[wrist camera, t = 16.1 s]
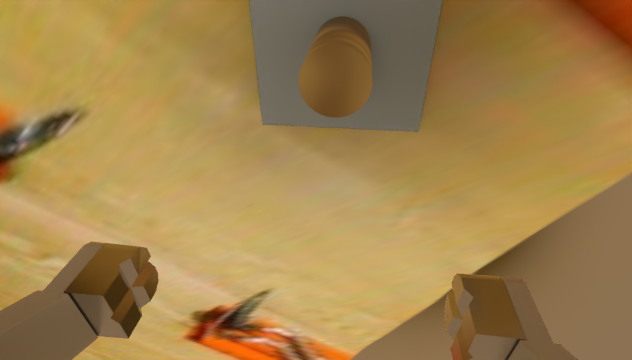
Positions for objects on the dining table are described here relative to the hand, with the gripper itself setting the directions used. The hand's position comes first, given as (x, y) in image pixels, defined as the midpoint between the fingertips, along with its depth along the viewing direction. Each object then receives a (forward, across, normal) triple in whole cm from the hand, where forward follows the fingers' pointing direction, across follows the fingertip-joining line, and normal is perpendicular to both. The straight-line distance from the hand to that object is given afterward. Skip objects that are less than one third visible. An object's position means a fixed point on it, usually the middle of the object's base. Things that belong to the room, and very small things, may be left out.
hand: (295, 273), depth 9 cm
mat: (+23, 0, 0) cm, 23 cm away
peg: (+22, 0, 0) cm, 22 cm away
